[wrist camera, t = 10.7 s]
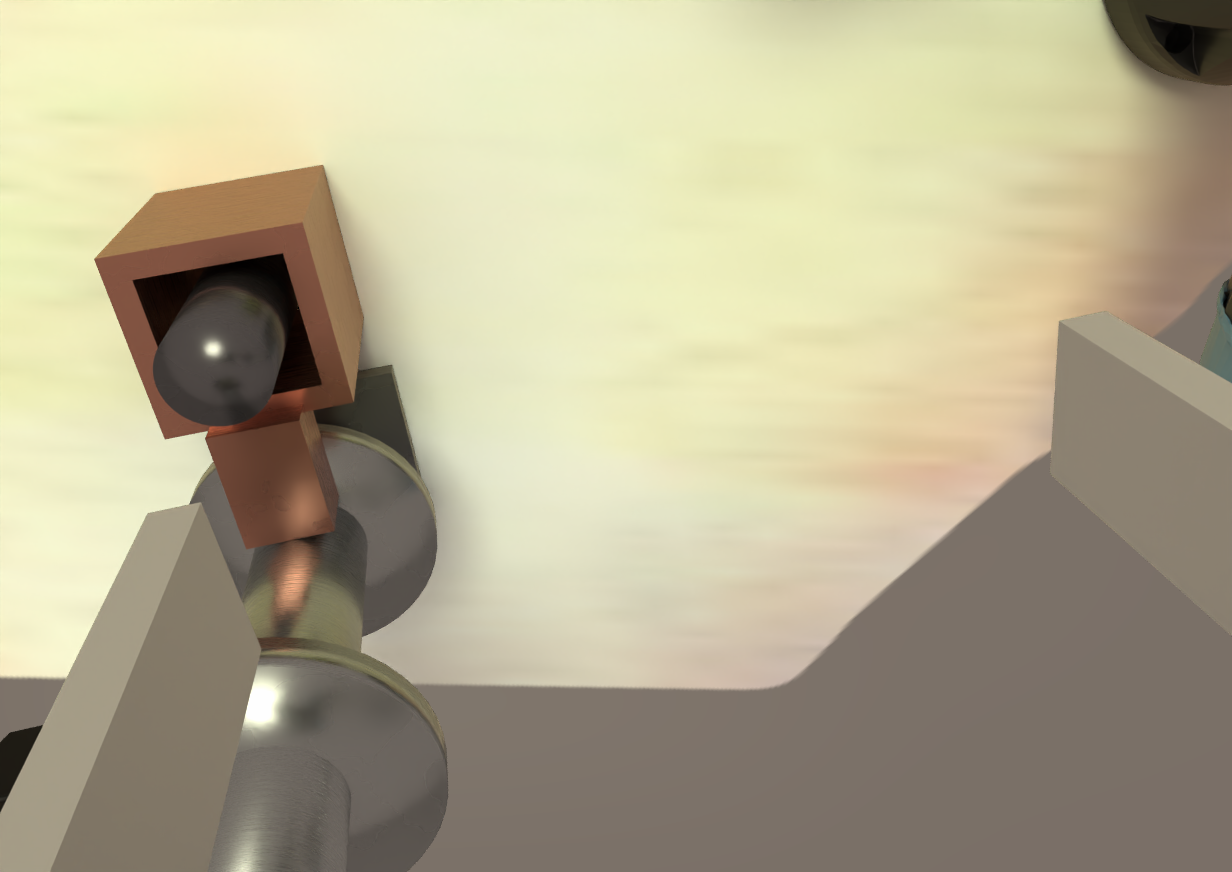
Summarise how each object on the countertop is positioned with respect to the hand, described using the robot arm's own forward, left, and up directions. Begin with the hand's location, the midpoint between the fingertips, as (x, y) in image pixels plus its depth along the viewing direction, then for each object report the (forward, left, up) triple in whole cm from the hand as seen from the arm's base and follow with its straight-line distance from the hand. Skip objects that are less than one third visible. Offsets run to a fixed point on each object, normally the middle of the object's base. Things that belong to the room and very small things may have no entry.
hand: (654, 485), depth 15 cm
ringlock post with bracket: (+12, +11, -35) cm, 39 cm away
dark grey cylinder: (+12, +5, -35) cm, 37 cm away
